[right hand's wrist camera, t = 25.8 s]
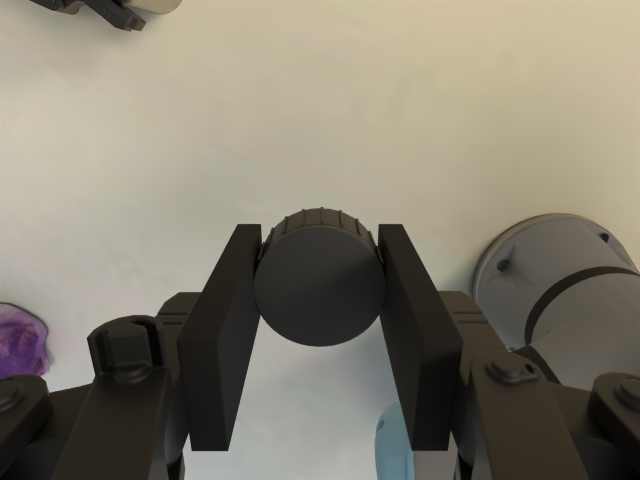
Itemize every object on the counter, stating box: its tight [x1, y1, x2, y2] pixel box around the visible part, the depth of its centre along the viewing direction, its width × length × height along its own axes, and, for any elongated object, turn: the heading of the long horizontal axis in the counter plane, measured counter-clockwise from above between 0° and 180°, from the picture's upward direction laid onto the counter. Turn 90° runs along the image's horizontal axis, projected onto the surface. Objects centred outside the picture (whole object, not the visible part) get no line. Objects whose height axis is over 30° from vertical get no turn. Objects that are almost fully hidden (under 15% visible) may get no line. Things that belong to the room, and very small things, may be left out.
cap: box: [254, 207, 386, 347], centre depth 14 cm, size 4×4×2 cm
